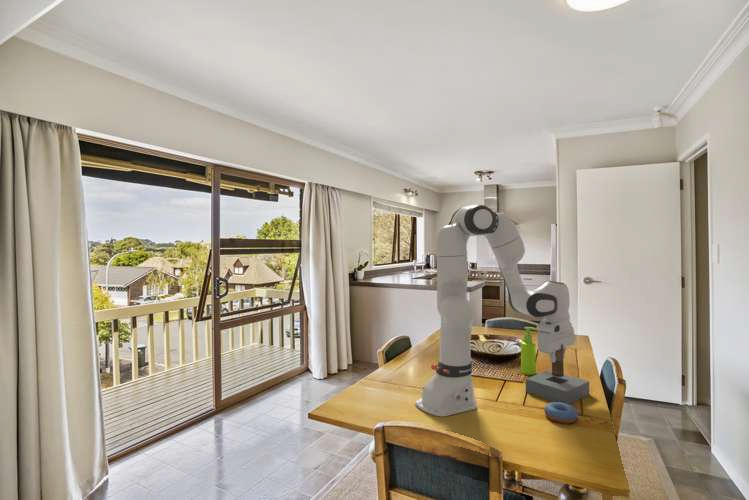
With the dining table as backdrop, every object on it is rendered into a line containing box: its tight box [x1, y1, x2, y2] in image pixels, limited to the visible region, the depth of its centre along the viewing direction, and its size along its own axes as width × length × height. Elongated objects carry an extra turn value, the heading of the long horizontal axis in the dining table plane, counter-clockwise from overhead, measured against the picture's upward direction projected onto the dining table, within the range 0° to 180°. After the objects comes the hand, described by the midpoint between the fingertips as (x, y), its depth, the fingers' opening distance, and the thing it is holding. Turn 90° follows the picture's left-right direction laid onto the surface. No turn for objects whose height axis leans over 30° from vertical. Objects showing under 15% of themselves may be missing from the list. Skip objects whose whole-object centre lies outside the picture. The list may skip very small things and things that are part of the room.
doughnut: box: [544, 401, 579, 425], centre depth 125 cm, size 10×10×5 cm
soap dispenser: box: [520, 326, 538, 376], centre depth 167 cm, size 6×7×20 cm
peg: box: [551, 344, 565, 377], centre depth 145 cm, size 4×4×12 cm
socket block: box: [525, 369, 590, 405], centre depth 145 cm, size 16×16×5 cm
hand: (557, 360), depth 145 cm, fingers closed on peg, 4 cm apart
